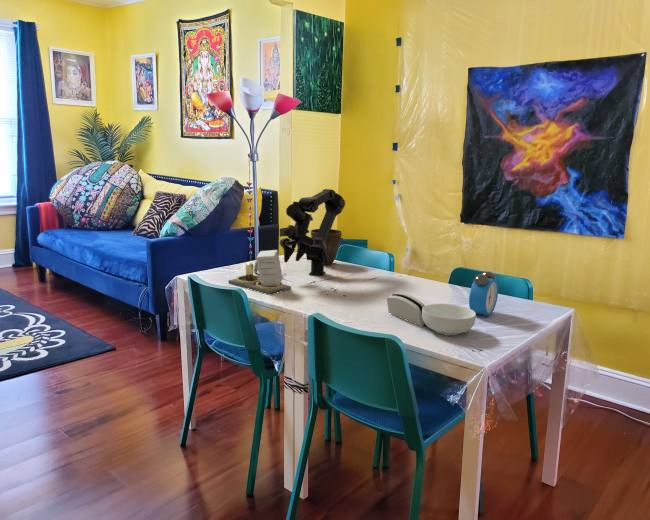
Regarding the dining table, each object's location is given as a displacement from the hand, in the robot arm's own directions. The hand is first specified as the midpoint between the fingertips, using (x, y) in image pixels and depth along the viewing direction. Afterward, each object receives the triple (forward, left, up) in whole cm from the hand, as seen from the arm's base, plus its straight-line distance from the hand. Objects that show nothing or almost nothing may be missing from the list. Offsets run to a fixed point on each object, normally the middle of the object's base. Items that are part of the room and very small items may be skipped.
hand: (290, 261), depth 227 cm
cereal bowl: (+43, +61, -10) cm, 75 cm away
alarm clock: (+21, +74, -10) cm, 78 cm away
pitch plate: (+6, -12, -10) cm, 16 cm away
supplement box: (+8, -6, -8) cm, 12 cm away
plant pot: (-43, +7, -10) cm, 45 cm away
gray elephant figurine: (-16, -14, -10) cm, 24 cm away
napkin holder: (+34, +48, -10) cm, 60 cm away
